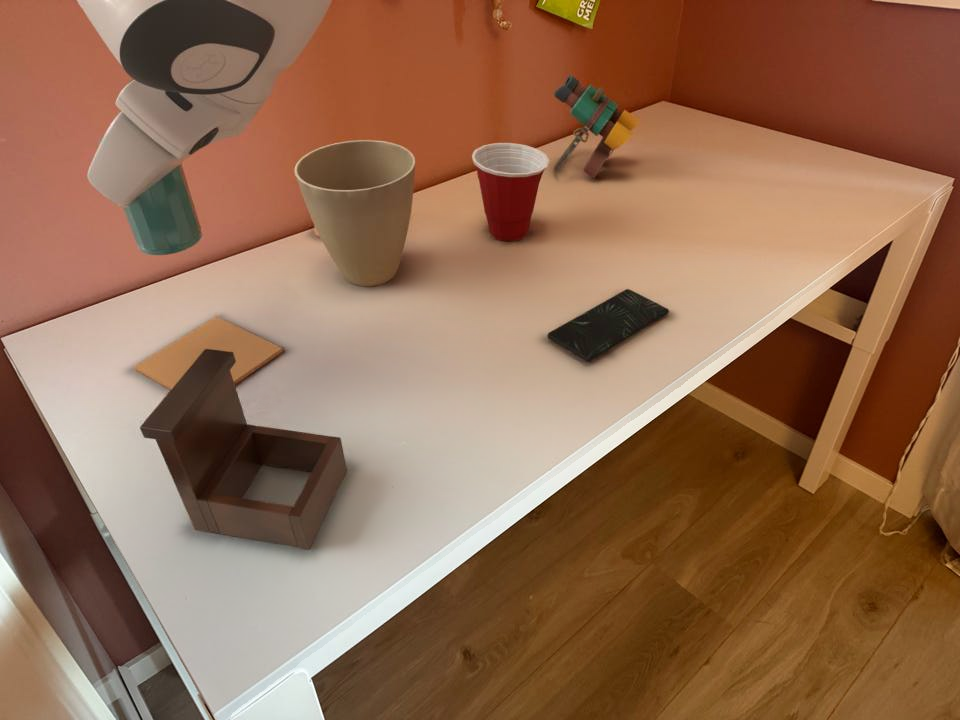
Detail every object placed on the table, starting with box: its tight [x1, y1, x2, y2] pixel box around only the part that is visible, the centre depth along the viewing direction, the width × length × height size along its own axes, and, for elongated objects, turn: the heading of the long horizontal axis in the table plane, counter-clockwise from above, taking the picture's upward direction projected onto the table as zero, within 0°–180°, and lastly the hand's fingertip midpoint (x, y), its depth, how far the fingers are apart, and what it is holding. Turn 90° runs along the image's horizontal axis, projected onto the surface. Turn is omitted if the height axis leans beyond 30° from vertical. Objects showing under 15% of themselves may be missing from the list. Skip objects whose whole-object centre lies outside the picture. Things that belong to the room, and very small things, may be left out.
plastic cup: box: [471, 142, 550, 242], centre depth 103 cm, size 11×11×12 cm
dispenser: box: [139, 349, 348, 550], centre depth 64 cm, size 12×10×13 cm
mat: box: [133, 316, 284, 391], centre depth 84 cm, size 12×12×1 cm
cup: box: [98, 135, 203, 256], centre depth 71 cm, size 6×6×11 cm
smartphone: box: [547, 288, 670, 364], centre depth 87 cm, size 7×1×15 cm
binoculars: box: [552, 74, 641, 179], centre depth 120 cm, size 14×14×15 cm
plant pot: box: [293, 139, 416, 287], centre depth 94 cm, size 15×15×16 cm
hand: (144, 182), depth 70 cm, fingers closed on cup, 6 cm apart
